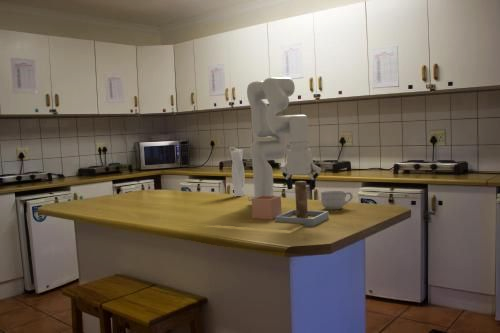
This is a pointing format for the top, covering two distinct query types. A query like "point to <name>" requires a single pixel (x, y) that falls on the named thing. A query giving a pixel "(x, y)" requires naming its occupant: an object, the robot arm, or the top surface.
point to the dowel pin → (301, 199)
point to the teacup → (334, 199)
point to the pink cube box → (266, 207)
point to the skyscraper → (238, 172)
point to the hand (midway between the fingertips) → (301, 189)
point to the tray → (306, 221)
